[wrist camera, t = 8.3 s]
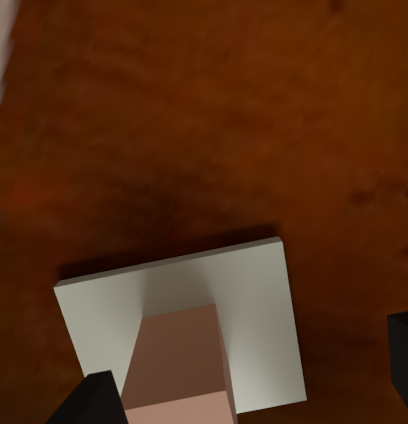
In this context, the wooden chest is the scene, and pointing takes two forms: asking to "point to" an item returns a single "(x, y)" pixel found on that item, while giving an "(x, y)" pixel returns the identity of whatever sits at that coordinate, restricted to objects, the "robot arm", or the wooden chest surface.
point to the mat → (191, 298)
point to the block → (180, 371)
